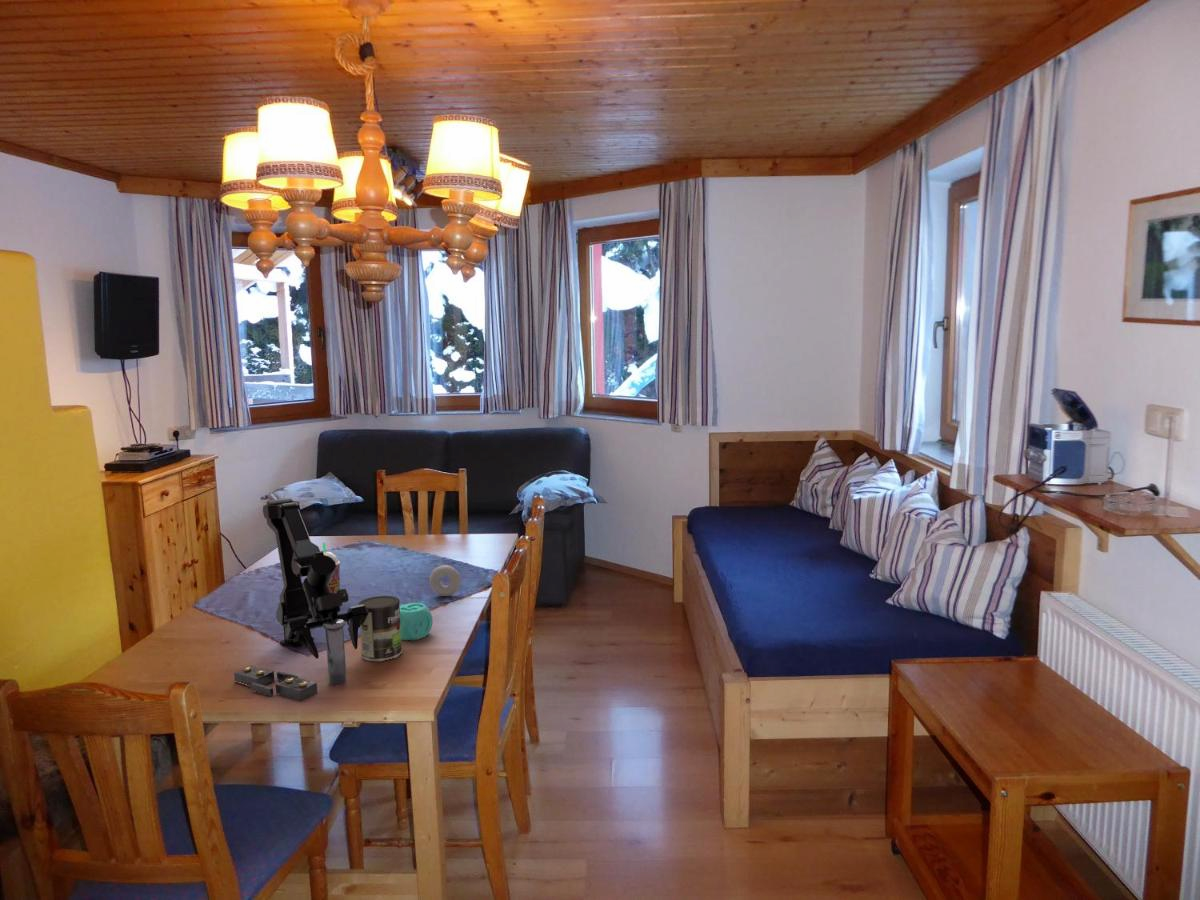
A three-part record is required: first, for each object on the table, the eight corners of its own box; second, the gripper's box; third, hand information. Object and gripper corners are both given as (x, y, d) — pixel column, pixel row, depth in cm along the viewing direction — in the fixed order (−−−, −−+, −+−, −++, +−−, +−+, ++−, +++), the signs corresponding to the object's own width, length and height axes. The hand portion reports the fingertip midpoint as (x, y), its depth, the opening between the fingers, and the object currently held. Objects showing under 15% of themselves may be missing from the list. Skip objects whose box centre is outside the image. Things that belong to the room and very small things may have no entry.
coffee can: (409, 647, 222) (406, 596, 220) (391, 663, 212) (388, 609, 210) (372, 645, 224) (369, 594, 222) (354, 660, 214) (350, 607, 212)
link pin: (322, 683, 201) (318, 624, 198) (338, 676, 205) (334, 617, 203) (337, 687, 198) (333, 627, 196) (352, 680, 202) (348, 621, 200)
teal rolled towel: (392, 636, 231) (390, 608, 230) (416, 628, 237) (415, 600, 236) (409, 643, 226) (407, 614, 225) (433, 634, 232) (432, 606, 231)
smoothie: (326, 612, 251) (322, 547, 248) (307, 608, 256) (303, 544, 253) (348, 604, 258) (344, 541, 255) (329, 600, 263) (325, 538, 260)
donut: (463, 594, 266) (461, 564, 265) (459, 598, 263) (458, 567, 261) (432, 594, 267) (430, 563, 266) (428, 597, 264) (427, 566, 262)
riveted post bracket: (229, 684, 201) (228, 672, 201) (257, 672, 208) (256, 660, 208) (294, 703, 190) (293, 691, 190) (322, 690, 197) (321, 677, 197)
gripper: (285, 587, 196) (302, 646, 189) (363, 572, 207) (382, 627, 199) (278, 611, 204) (295, 668, 196) (354, 595, 214) (372, 649, 207)
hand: (337, 653), depth 200 cm, fingers open, 9 cm apart
